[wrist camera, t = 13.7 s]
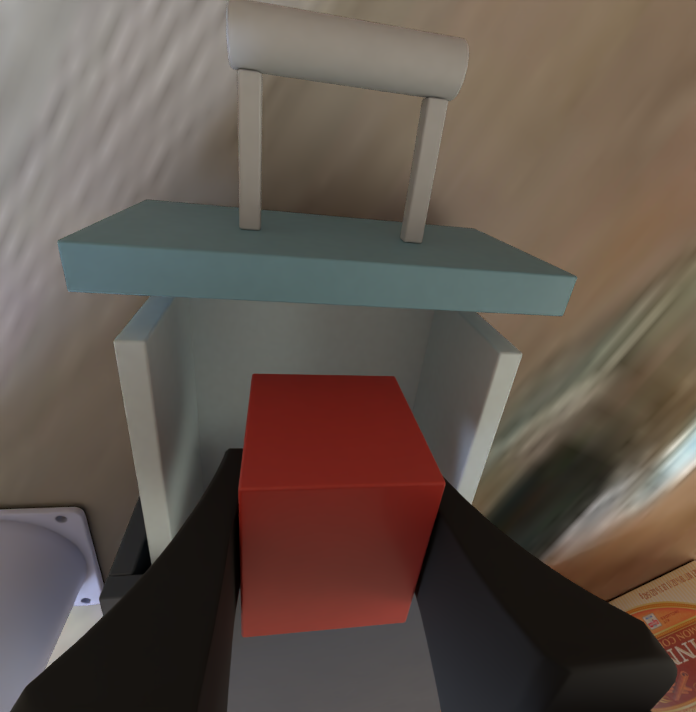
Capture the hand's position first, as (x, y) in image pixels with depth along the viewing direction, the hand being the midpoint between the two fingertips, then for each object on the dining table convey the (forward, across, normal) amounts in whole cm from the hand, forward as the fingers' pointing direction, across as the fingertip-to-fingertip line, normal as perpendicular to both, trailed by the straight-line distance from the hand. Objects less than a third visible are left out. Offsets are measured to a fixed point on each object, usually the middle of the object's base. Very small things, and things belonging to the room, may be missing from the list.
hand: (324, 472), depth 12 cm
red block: (+1, 0, 0) cm, 1 cm away
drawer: (+7, 0, -2) cm, 8 cm away
